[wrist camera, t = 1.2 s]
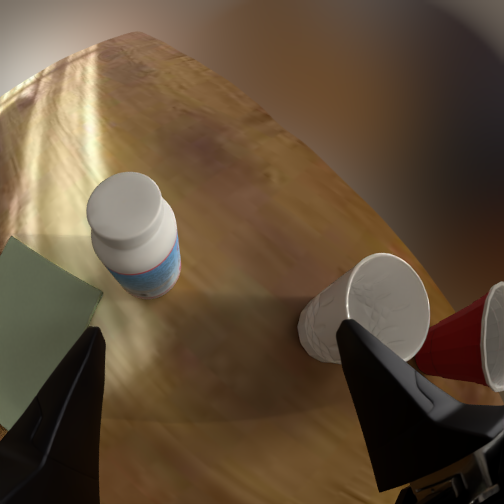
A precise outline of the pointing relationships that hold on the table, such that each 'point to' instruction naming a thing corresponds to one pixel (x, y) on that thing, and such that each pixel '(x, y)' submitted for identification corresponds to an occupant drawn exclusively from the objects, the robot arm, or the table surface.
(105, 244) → the pill bottle
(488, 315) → the plastic cup
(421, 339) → the white cup
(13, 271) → the mat
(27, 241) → the table surface
